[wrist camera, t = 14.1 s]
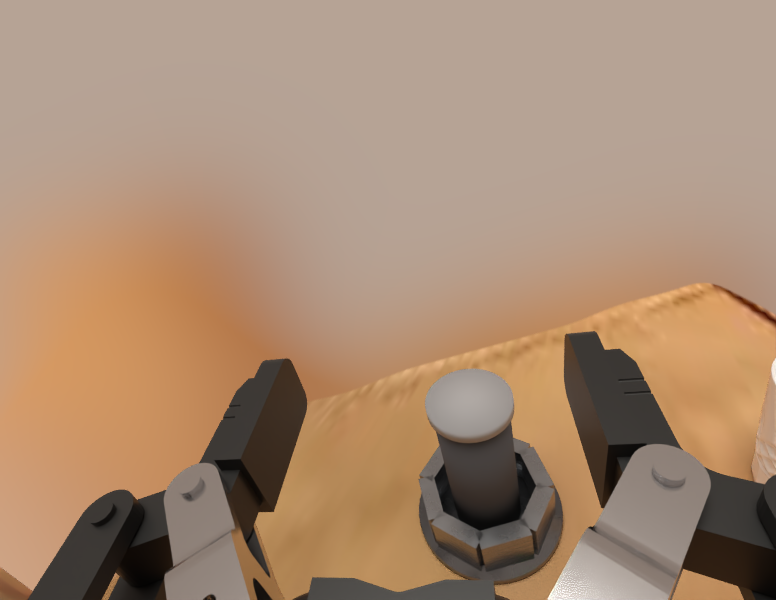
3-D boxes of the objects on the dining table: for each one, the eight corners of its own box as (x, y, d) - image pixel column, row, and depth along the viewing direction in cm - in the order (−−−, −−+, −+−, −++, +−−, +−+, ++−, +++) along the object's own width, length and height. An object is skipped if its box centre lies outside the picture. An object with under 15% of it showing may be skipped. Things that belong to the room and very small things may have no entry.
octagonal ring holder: (394, 536, 35) (383, 509, 33) (460, 435, 42) (454, 408, 40) (529, 618, 28) (525, 591, 26) (582, 482, 35) (582, 453, 33)
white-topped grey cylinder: (439, 519, 35) (408, 415, 28) (472, 464, 38) (451, 360, 32) (506, 556, 31) (488, 448, 25) (536, 492, 35) (527, 382, 28)
